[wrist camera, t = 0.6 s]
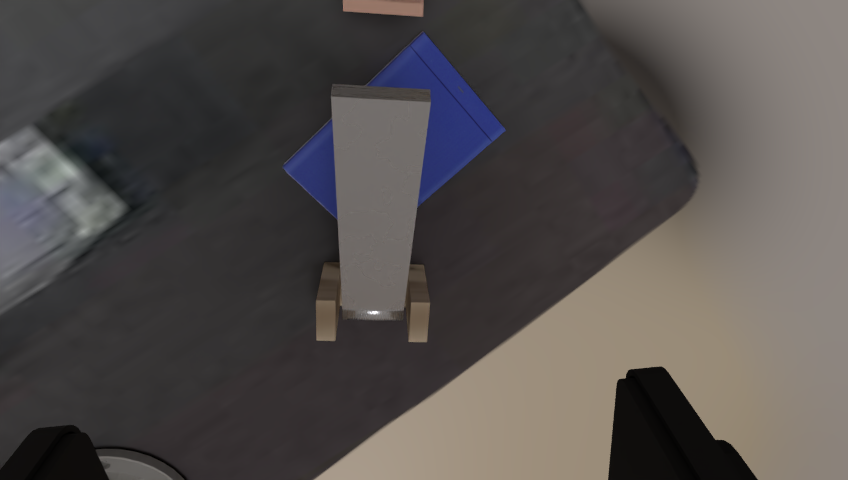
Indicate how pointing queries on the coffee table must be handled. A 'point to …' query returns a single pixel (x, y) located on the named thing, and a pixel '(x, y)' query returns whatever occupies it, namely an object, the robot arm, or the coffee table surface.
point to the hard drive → (446, 134)
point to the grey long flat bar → (377, 193)
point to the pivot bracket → (332, 300)
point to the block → (385, 7)
